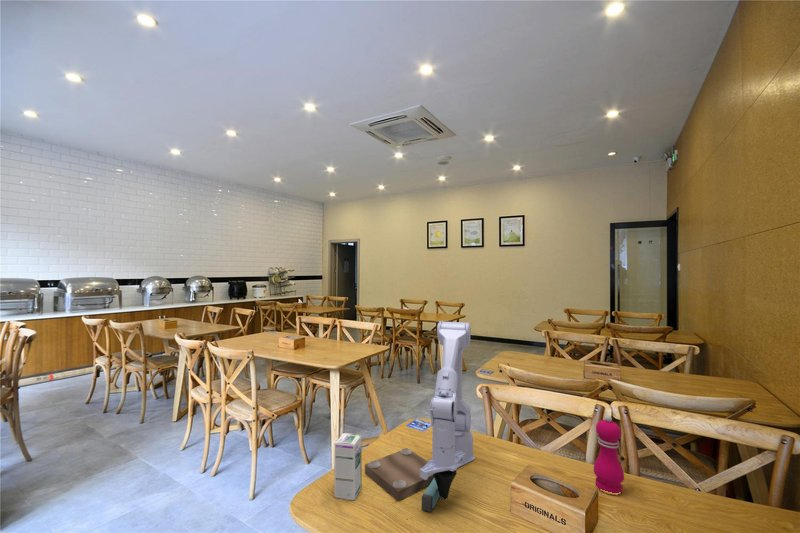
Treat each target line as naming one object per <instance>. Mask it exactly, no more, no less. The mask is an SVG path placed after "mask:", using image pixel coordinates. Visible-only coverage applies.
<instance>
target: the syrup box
mask: <svg viewBox="0 0 800 533" xmlns="http://www.w3.org/2000/svg"><path fill="white" fill-rule="evenodd" d="M333 446H334V457H333V458H334V468H333V469H334V498H337V499H341V500H348V501H355V500H356V498H357V496H358V495H359V493H360V491H361V489H362V484H363V483H362V474H363V473H362V470H363V468H362V435H361V434H358V433H350V432H349V433H348V432H345V433H343V432H342V433H341V435H340V436H339V437H338V438H337V440H336V441H335V442H334V445H333Z"/></svg>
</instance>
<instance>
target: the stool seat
mask: <svg viewBox="0 0 800 533" xmlns="http://www.w3.org/2000/svg"><path fill="white" fill-rule="evenodd" d="M428 462H429V460H427V459H425V458H423V457H422V456H421V455H418V454H417V453H415V452H414V451H413V450H412V449H409V448H408V447H406V448H402V449H401V450H398V451H396V452H393V453H390V454H389V455H385V456H383V457H381V458H378V459H375V460H372V461H369V462H368V463H365V464H364V474H365V475H366V476H368V478H370V479H371V480H372V481H373V482H374V483H376V484H377V485H378V486H379V487H380V488H381V489H383V490H384V491H385V492H386V493H388V495H390V496H391V497H392V498H394V499H395V500H396V501H397V502H400V501H402V500H404V499H406V498H409V497H410V496H412V495H414V494H417V493H419V491H422V490H424V489H425V488H426V489H427V488H428V487H429V485H430V483H431V482H432V480H433V479H434V476H433V475H431V476H429V477H428V479H427V480H424V479H422V478H421V477H420V469H421V468H423V467H424V466H425V465H426V464H427V463H428Z"/></svg>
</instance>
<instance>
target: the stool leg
mask: <svg viewBox="0 0 800 533" xmlns="http://www.w3.org/2000/svg"><path fill="white" fill-rule="evenodd" d="M440 498H441V497H440V495H439V491H438V487H437V483H436V481H435V478H434V479H433V480H432V482H431V483H430V485H429V486H428V487H426V490H425V491H424V493H423V494H422V495H421V510H423V511H426V512H429V513H431V512H432V511H433V509H434V508H435V506H436V504H437V503H438V500H439V499H440Z"/></svg>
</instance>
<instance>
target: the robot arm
mask: <svg viewBox="0 0 800 533" xmlns="http://www.w3.org/2000/svg"><path fill="white" fill-rule="evenodd" d="M436 329H437V330H436V336H437V340H438V341H439V344H440V345H441V346H442V347H443V348H442V366H441V369H439V370H438V371H437V373H436V380H435V381H436V382H435V387H434V395H433V396H432V397H431V400H430V402H429V403H430V404H429V415H430V425H431V426H432V438H431V439H432V453H431V454H432V456H431V459H430V460H428V463H427V464H426V465H425V466H424V467H423V468H421V469H420V477H421V478H422V479H424V480H427V479H428V477H429V476H431V475H433V476H434V478H435V481H436V483H437V487H438V491H439V495H440V497H439V498H442V499H443V500H447V499H448V498H449V497H448V496H449V492H450V490H451V486H452V483H453V480H454V479H455V477H456V475H457V470H458V469H459V468H460V467H463V466H464V465H467V464H469V463H470V462H472V461H475V460H476V457H475V456H474V437H473V434H472V431H471V428H472V414H471V407H470V405H469V404H468V403H467V402H466V401H465V400H463V396H462V395H463V353H464V350H465V349H466V348H470V345H471V334H472V333H471V324H470V323H469V321H466V322H460V321H459V322H457V321H456V322H455V321H442V320H439V322H438V323H437V327H436Z"/></svg>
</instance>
